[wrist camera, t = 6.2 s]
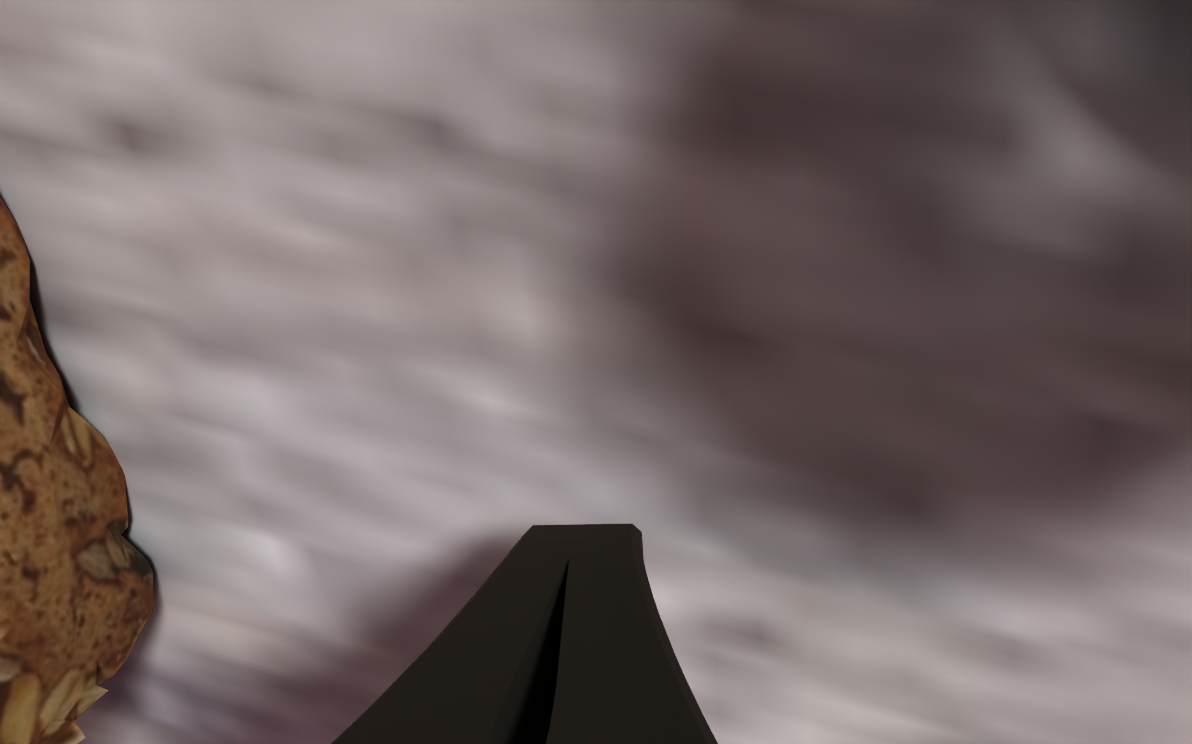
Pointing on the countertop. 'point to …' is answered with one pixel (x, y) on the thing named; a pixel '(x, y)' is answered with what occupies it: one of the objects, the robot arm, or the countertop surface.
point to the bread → (56, 535)
